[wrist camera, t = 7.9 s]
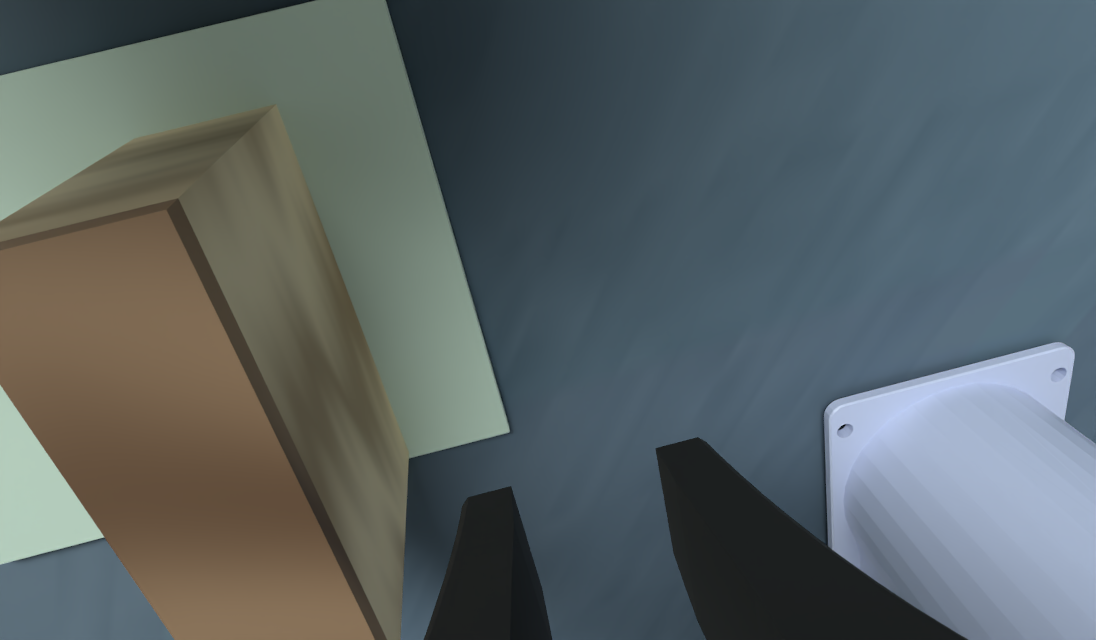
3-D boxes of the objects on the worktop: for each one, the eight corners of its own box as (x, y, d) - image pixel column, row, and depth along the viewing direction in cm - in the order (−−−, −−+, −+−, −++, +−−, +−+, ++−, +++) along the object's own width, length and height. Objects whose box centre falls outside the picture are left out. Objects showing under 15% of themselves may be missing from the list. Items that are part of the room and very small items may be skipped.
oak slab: (409, 452, 21) (398, 687, 14) (299, 481, 21) (237, 730, 14) (276, 104, 16) (166, 210, 9) (133, 138, 16) (-79, 270, 9)
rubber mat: (508, 424, 21) (509, 432, 21) (2, 555, 21) (-5, 565, 20) (381, -15, 16) (379, -15, 15) (-316, 150, 15) (-334, 155, 15)
